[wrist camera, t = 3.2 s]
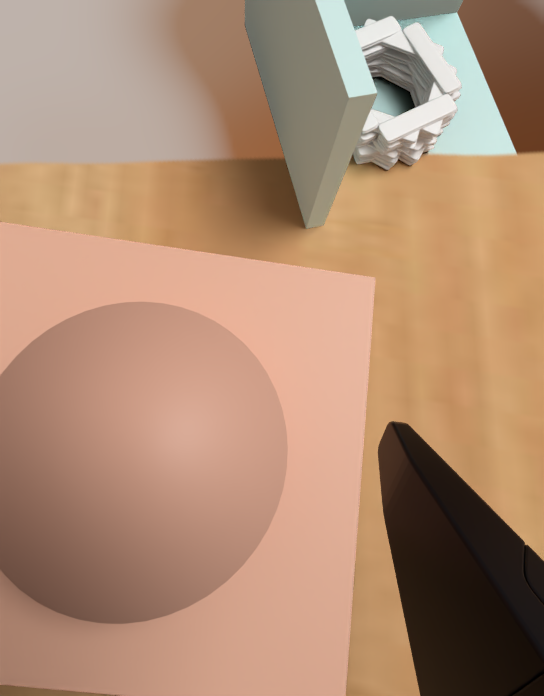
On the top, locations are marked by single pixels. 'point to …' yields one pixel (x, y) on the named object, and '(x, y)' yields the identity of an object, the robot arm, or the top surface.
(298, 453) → the pillar
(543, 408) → the top surface
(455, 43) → the l-shaped corner panel
